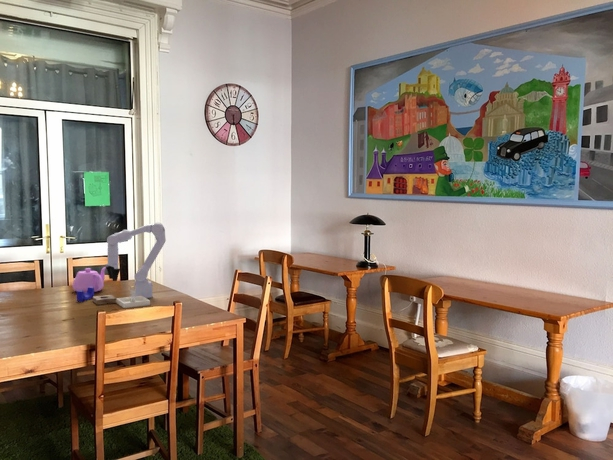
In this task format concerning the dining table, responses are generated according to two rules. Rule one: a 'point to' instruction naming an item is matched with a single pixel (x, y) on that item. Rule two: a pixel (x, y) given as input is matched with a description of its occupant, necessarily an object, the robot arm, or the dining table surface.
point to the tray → (138, 302)
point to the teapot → (89, 280)
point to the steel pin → (132, 294)
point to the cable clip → (85, 294)
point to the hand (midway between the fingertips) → (113, 279)
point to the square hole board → (104, 299)
